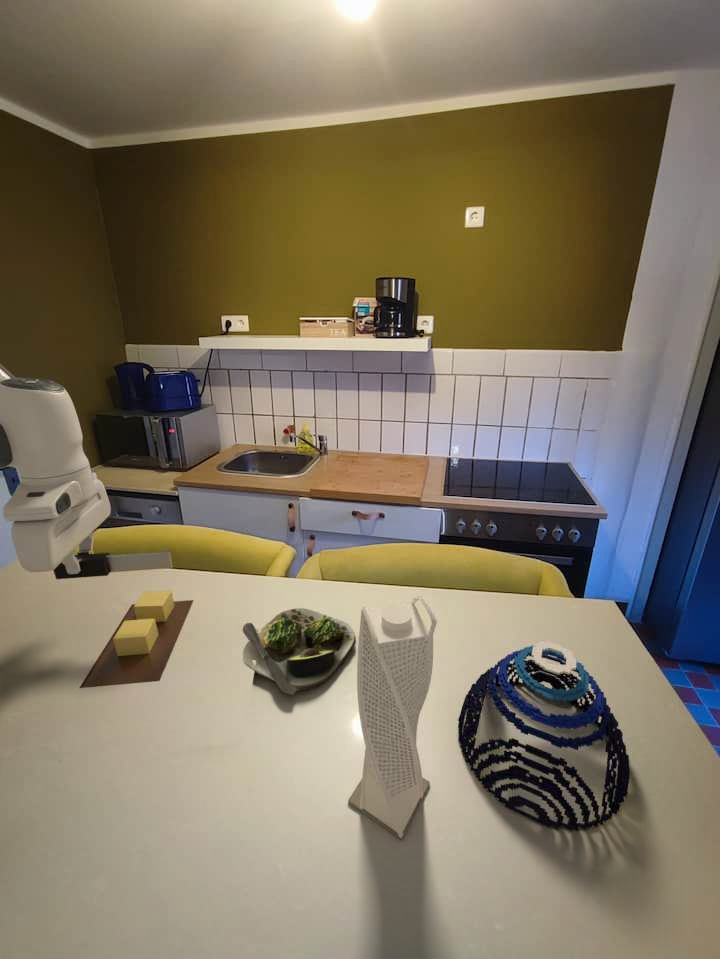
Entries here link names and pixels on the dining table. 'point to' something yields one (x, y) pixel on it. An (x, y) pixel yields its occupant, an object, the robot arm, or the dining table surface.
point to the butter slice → (154, 605)
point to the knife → (115, 564)
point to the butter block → (136, 637)
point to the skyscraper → (392, 711)
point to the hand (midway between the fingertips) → (81, 565)
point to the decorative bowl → (545, 735)
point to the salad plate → (299, 648)
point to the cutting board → (142, 665)
